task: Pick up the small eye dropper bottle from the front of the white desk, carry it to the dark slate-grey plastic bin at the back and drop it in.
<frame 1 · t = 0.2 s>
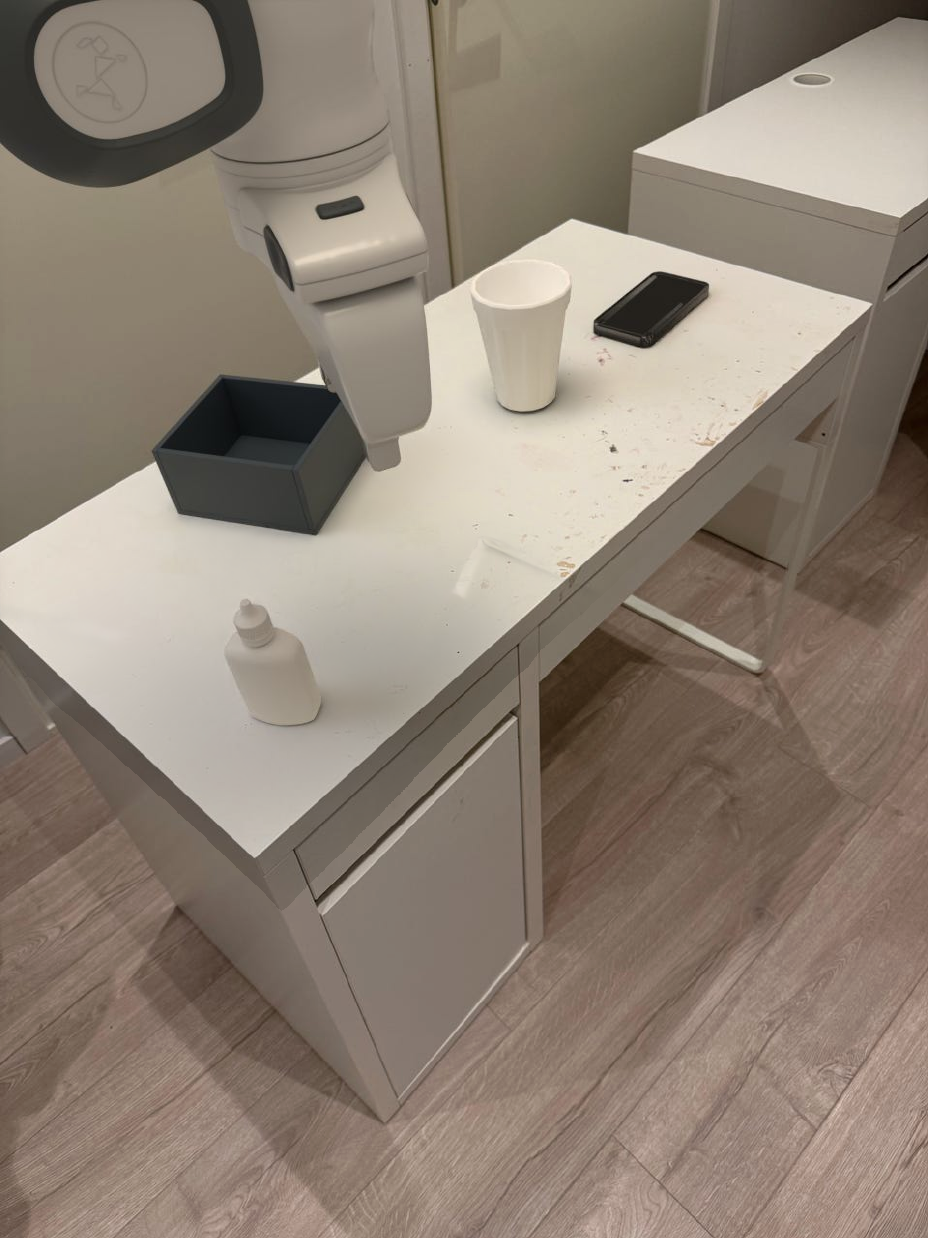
hand: (360, 421, 55), 23 cm above the table, tool pointing down, fingers open, 8 cm apart
phone: (652, 313, 105), on the table
cup: (526, 399, 96), on the table
eye dropper bottle: (287, 710, 69), on the table
bin: (275, 482, 89), on the table
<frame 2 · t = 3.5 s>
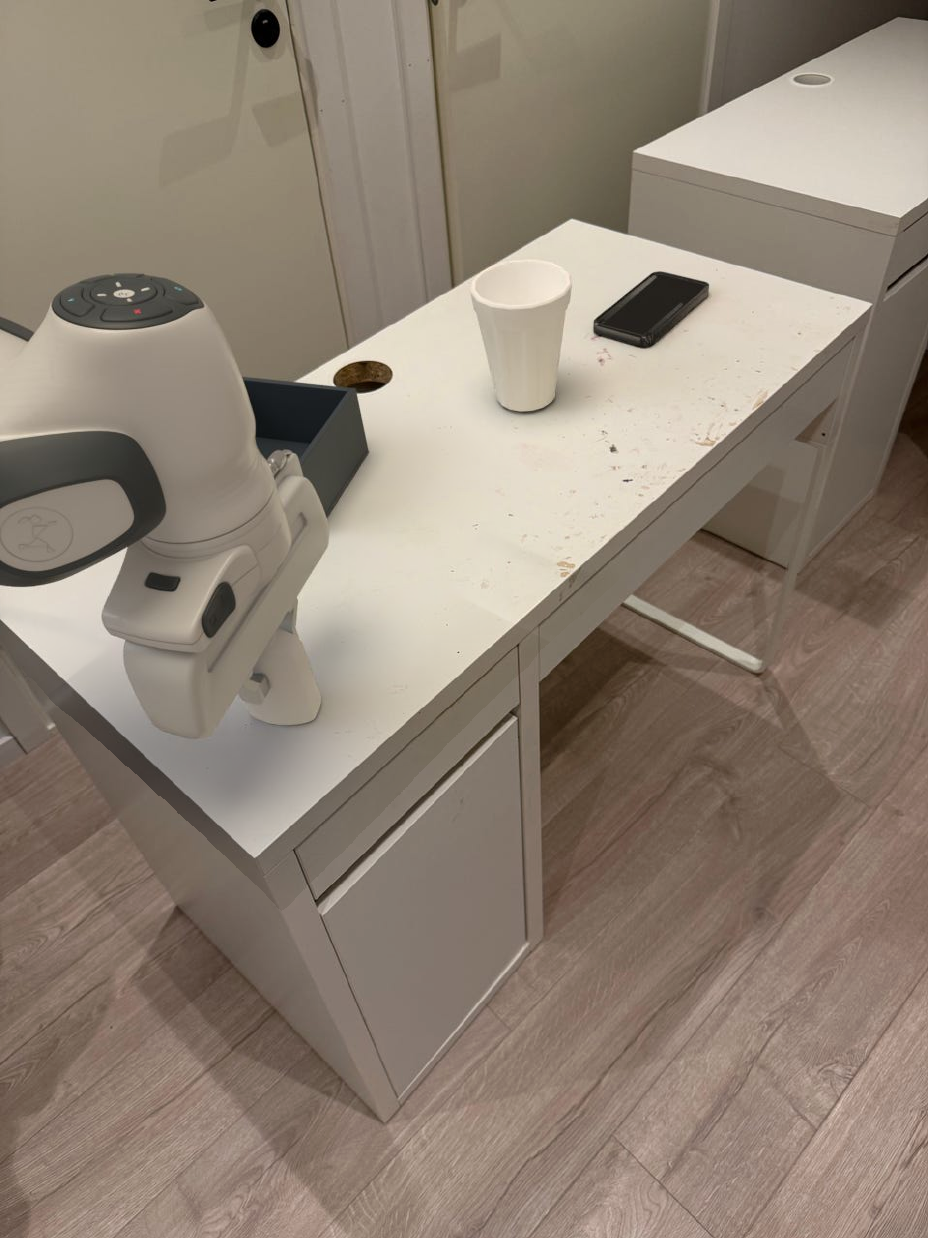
hand: (271, 671, 66), 5 cm above the table, tool pointing down, fingers closed on eye dropper bottle, 3 cm apart
eye dropper bottle: (287, 710, 69), on the table, touching gripper
everything else where it was.
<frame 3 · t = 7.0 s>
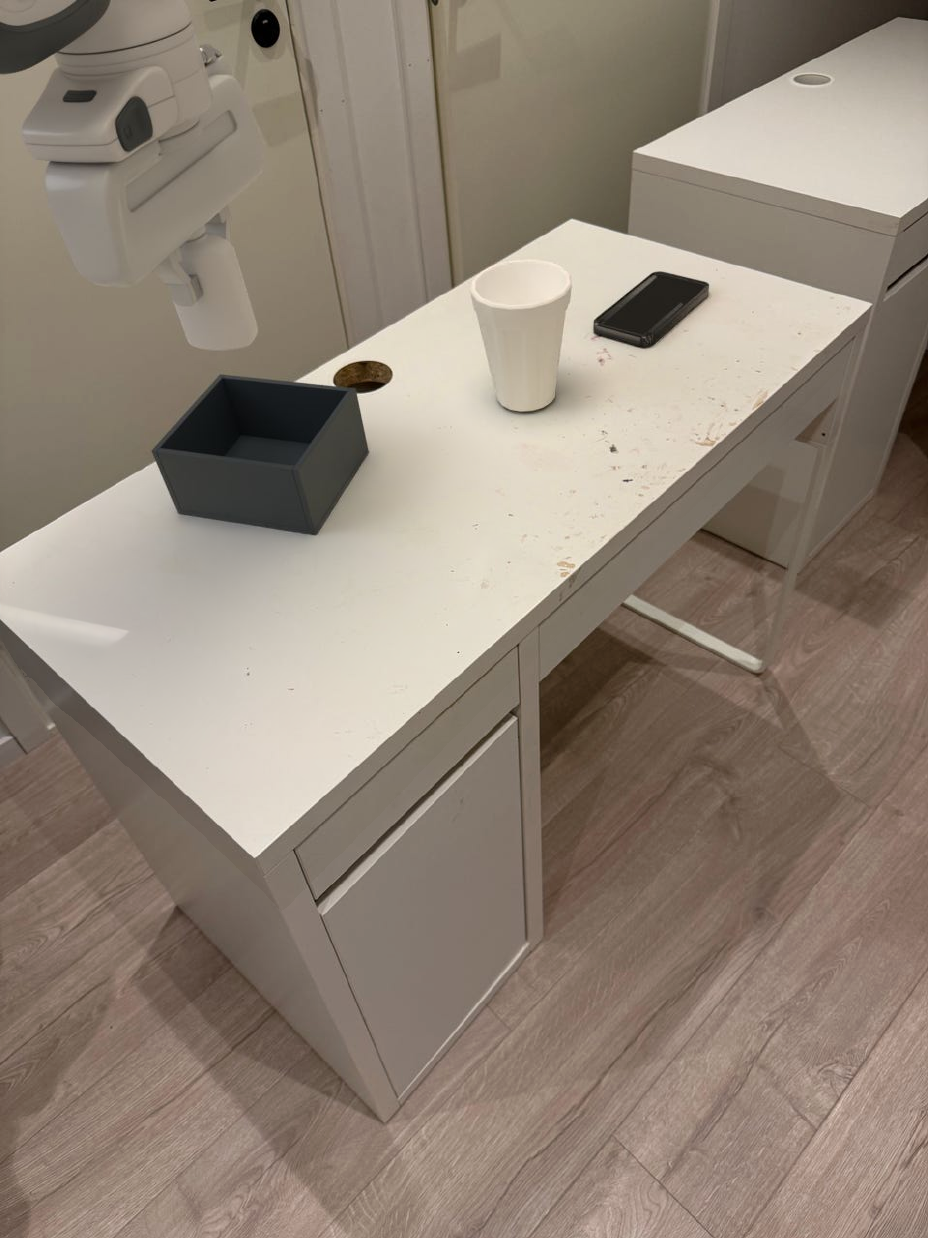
hand: (205, 285, 68), 24 cm above the table, tool pointing down, fingers closed on eye dropper bottle, 3 cm apart
eye dropper bottle: (225, 342, 71), point 19 cm above the table, touching gripper
everything else where it was.
when the fingers open (12 cm above the table, at t = 10.4 s): eye dropper bottle drops 7 cm, resting on bin.
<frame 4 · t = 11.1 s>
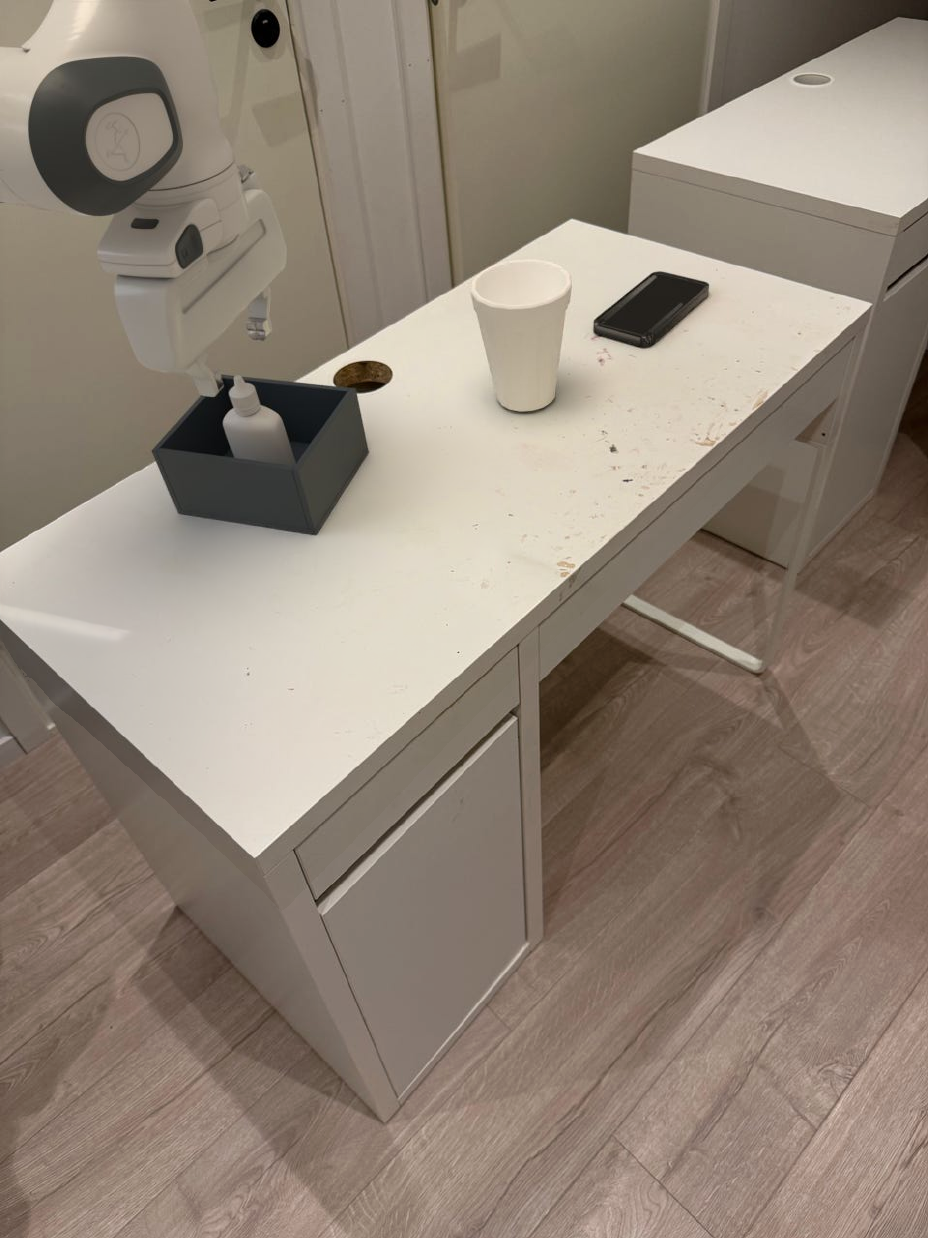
hand: (238, 363, 80), 14 cm above the table, tool pointing down, fingers open, 8 cm apart
eye dropper bottle: (272, 481, 89), resting on bin
everything else where it was.
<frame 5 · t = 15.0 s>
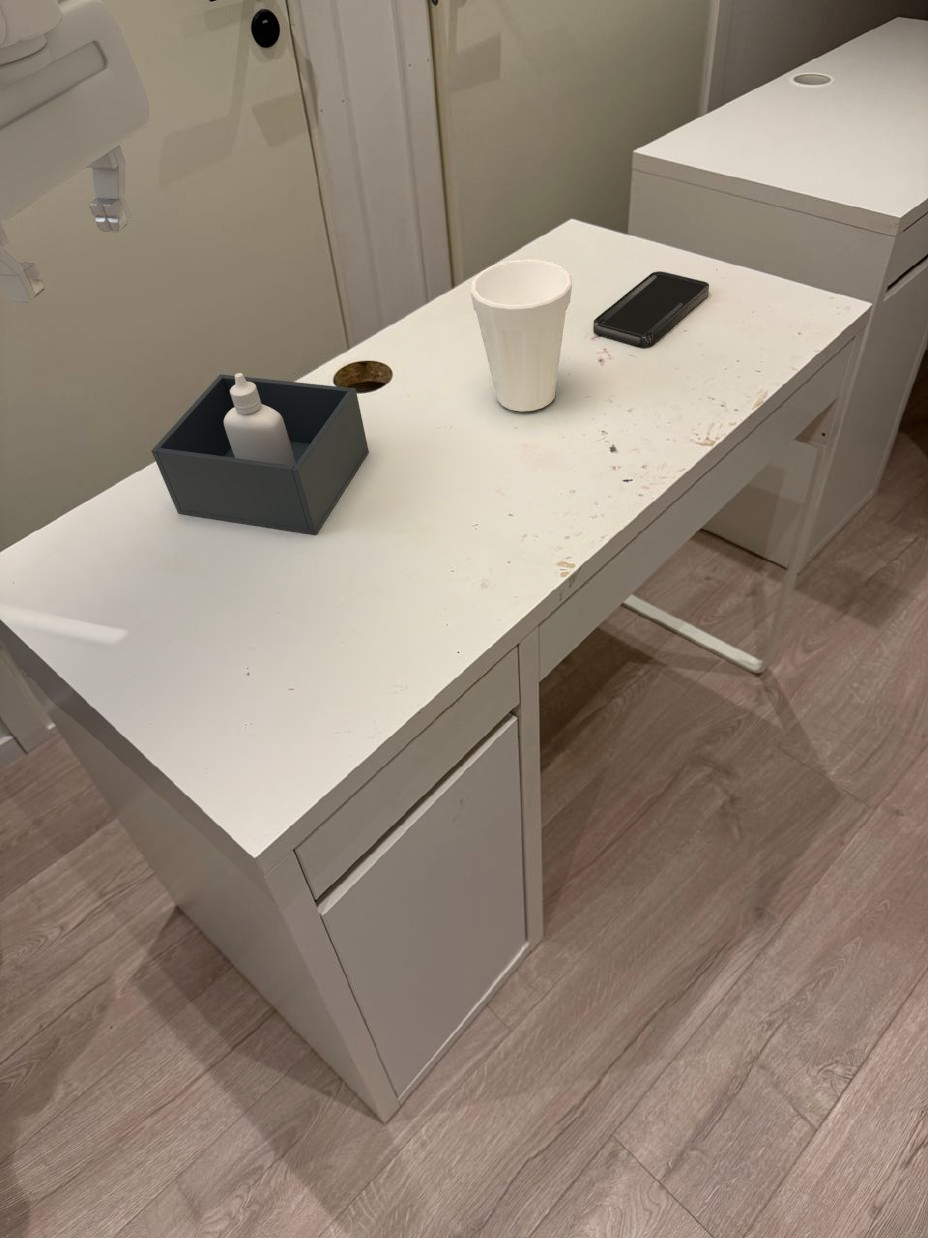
hand: (74, 260, 55), 31 cm above the table, tool pointing down, fingers open, 8 cm apart
nothing on the table moved.
at the end: eye dropper bottle inside the target area in the bin (0.5 cm from its centre), point 0.4 cm above the bin's base; the gripper is holding nothing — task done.
